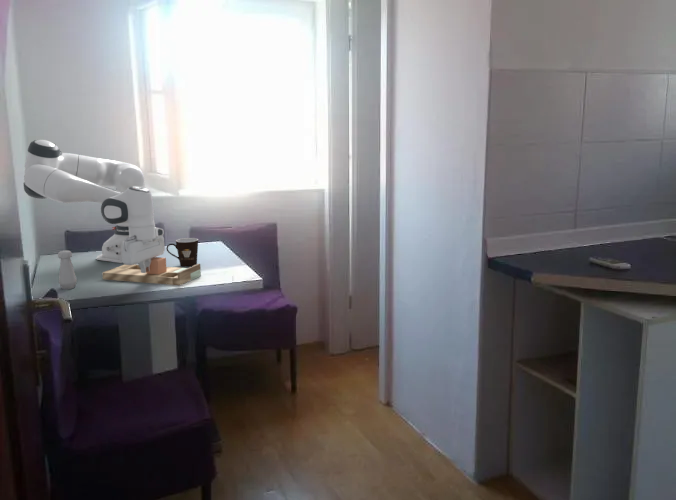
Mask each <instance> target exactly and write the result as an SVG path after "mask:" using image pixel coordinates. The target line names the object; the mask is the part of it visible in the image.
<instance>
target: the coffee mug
mask: <svg viewBox="0 0 676 500" xmlns="http://www.w3.org/2000/svg"><path fill="white" fill-rule="evenodd" d="M170 246H174V247H175V249H176V250H177V255H178V256H177V255H175V254H173V253H172V252H170V251H169V247H170ZM165 250H166V252H167V253H168V254H170V255H171V256H173V257H174V258H176V259H178V261H179V265H180V266H179V267H181V268H189V267H191V266H194V265H196V264H198V250H199V238H195V237H185V238H178V239H176V240H175V243H169V244H167V245H166V248H165Z"/></svg>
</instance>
